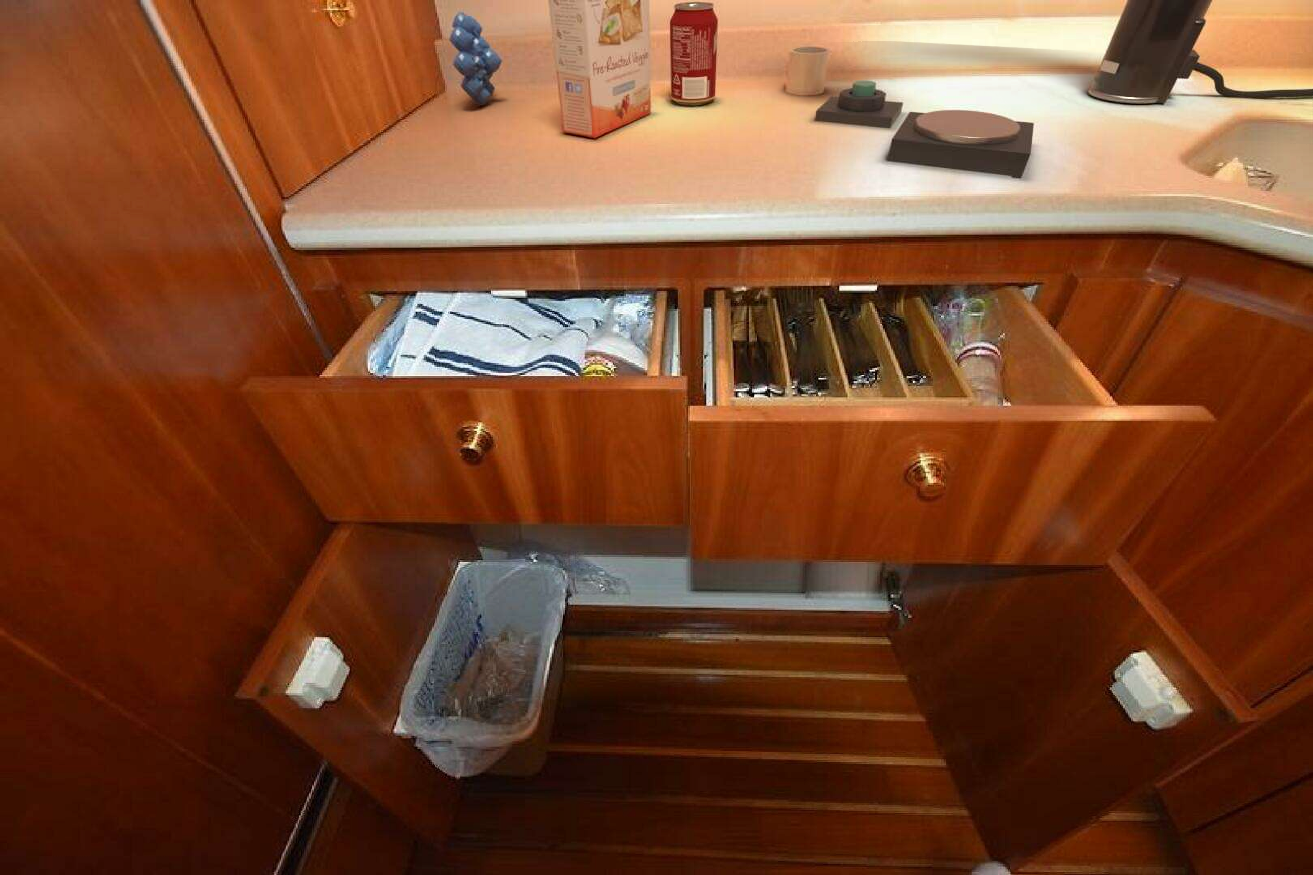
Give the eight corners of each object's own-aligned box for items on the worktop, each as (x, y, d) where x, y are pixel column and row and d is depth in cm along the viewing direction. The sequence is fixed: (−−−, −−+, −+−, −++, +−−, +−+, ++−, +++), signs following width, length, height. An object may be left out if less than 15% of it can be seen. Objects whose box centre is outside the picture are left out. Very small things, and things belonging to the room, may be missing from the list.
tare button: (875, 94, 79) (878, 81, 78) (871, 99, 77) (873, 86, 76) (853, 92, 80) (855, 79, 79) (848, 97, 78) (850, 84, 77)
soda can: (711, 107, 86) (715, 7, 78) (666, 106, 87) (665, 8, 79) (717, 96, 91) (721, 1, 83) (675, 95, 92) (674, 1, 84)
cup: (828, 88, 93) (834, 47, 89) (818, 97, 89) (824, 54, 86) (792, 85, 95) (796, 45, 92) (780, 93, 91) (785, 52, 88)
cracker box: (597, 140, 76) (579, -73, 62) (561, 134, 79) (535, -72, 64) (654, 114, 85) (650, -78, 71) (620, 109, 87) (609, -78, 73)
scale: (1025, 145, 70) (1036, 115, 68) (1021, 178, 62) (1034, 145, 60) (904, 133, 75) (911, 104, 73) (886, 161, 67) (893, 130, 65)
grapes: (500, 115, 86) (481, 16, 78) (455, 116, 87) (432, 17, 79) (518, 95, 95) (503, 4, 87) (477, 96, 95) (458, 5, 87)
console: (900, 113, 82) (906, 89, 80) (890, 129, 76) (895, 103, 74) (829, 107, 85) (833, 83, 83) (814, 121, 80) (818, 96, 78)
